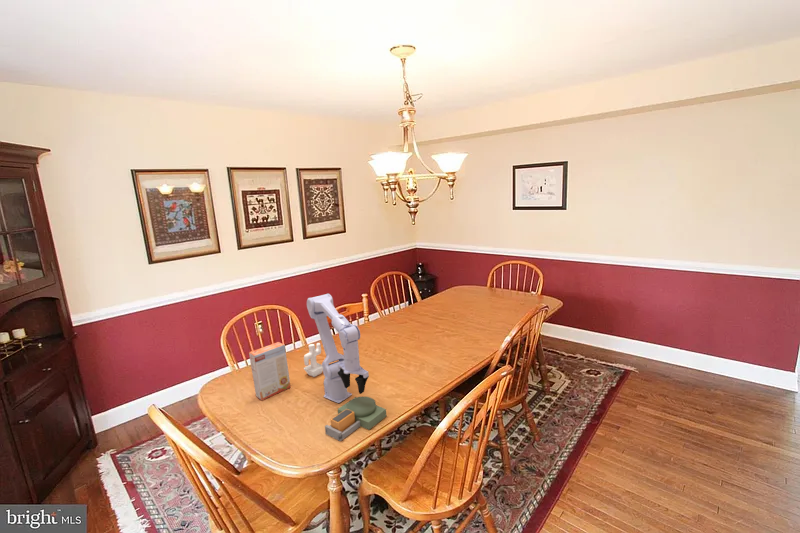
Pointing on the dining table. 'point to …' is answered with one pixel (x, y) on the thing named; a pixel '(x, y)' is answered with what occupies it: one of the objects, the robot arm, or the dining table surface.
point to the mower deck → (359, 416)
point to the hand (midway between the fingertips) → (354, 389)
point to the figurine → (313, 360)
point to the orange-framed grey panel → (343, 420)
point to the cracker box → (269, 370)
